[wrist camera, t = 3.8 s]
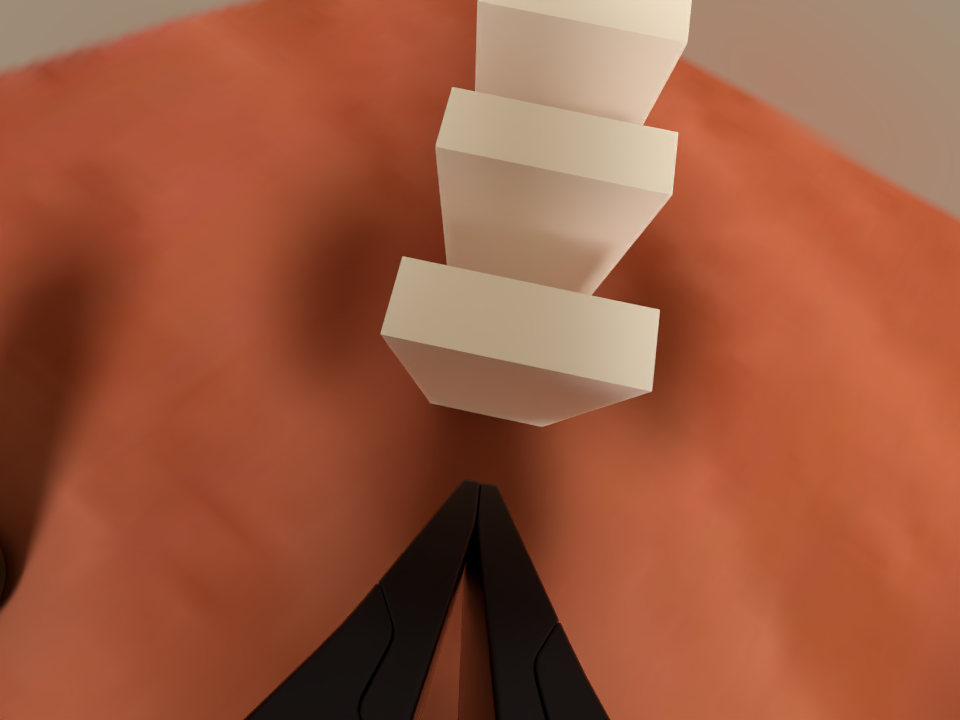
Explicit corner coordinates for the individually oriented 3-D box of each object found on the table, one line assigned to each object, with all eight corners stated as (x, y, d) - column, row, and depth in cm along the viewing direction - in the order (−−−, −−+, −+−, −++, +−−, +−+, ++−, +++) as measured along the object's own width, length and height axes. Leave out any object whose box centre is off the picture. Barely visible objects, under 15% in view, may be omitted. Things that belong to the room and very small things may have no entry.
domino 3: (570, 257, 18) (688, 42, 9) (471, 237, 19) (477, 0, 9) (575, 229, 19) (692, -7, 9) (477, 209, 19) (491, -47, 9)
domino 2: (557, 337, 17) (672, 194, 8) (451, 315, 18) (435, 146, 8) (562, 306, 18) (678, 132, 8) (459, 284, 18) (452, 87, 8)
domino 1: (542, 427, 16) (652, 391, 7) (430, 403, 16) (379, 334, 7) (547, 391, 17) (659, 309, 7) (438, 368, 17) (402, 256, 7)
